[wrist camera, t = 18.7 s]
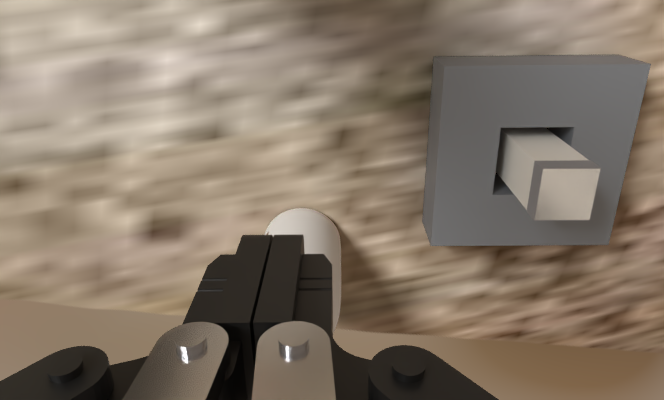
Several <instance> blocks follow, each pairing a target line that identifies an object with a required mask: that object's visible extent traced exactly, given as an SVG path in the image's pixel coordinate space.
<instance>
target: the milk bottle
mask: <svg viewBox="0 0 664 400" xmlns="http://www.w3.org/2000/svg"><path fill="white" fill-rule="evenodd" d="M300 234H303V236H304V252H305V254H324V255H325V256H326V257H327V259H328V260H329V261H330V263H331V264H332V286H333V332H334V331H335V328H336V326H337V323H338V319H339V314H340V307H341V242H340V235H339V232H338V230H337V228H336V226H335V225H334V223H333V222H332V221H331V220H330V219H329V218H328V217H327V216H325V215H324V214H322V213H320V212H318V211H315V210H313V209H307V208H296V209H291V210H287V211H285V212H283V213H281V214H279V215H278V216H277V217H275V218H274V219H273V220H272V221H271V223H270V224H269V226H268V227H267V230H266V232H265V235H273V236H274V235H300Z"/></svg>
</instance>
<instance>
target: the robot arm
mask: <svg viewBox="0 0 664 400" xmlns="http://www.w3.org/2000/svg"><path fill="white" fill-rule="evenodd" d="M0 400H498V399H497V398H495V397H494V396H493V395H491V394H490V393H488V392H487V391H486V390H484V389H483V388H481V387H480V386H478V385H477V384H476V383H474V382H473V381H471V380H470V379H468V378H467V377H466V376H464V375H463V374H461V373H460V372H459V371H457V370H456V369H454V368H453V367H451V366H450V365H448V364H447V363H446V362H444V361H443V360H442V359H440V358H439V357H437V356H436V355H434V354H433V353H431V352H430V351H427V350H425V349H422V348H419V347H415V346H407V345H401V346H393V347H389V348H386V349H384V350H382V351H380V352H379V353H378V354H376V355H375V356H374V357H373V359H372V360H368V359H364V358H360V357H356V356H354V355H351V354H349V353H347V352H346V351H344V350H343V349H342V348H340V347H339V346H338V345H337V344H336V342H335V341H334V339H333V286H332V264H331V263H330V261H329V260H328V259H327V257H326V256H325V255H324V254H305V252H304V236H303V234H300V235H274V236H273V235H243V236H242V238H241V241H240V243H239V246H238V249H237V252H236V255H220V256H219V257H218V258H217V259H215V260H214V261H213V262H212V263H211V264H209V265H208V267H207V269H206V271H205V274H204V276H203V278H202V281H201V283H200V285H199V287H198V292H196V294H195V297H194V299H193V301H192V304H191V306H190V308H189V310H188V313H187V315H186V317H185V320H184V322H183V324H182V325H180V326H178V327H175V328H173V329H171V330H169V331H168V332H166V333H165V334H164V335H162V336H161V337H160V338H159V340H158V341H157V343H156V344H155V346H154V348H153V349H152V351H151V353H150V354H149V356H146V357H143V358H140V359H136V360H132V361H128V362H123V363H119V364H114V365H109V361H108V357H107V355H106V354H105V353H104V352H103V351H102V350H100V349H98V348H95V347H90V346H77V347H71V348H67V349H63V350H60V351H58V352H55V353H53V354H51V355H49V356H47V357H45V358H43V359H41V360H39V361H37V362H36V363H34V364H32V365H30V366H28V367H27V368H24V369H22V370H21V371H19V372H17V373H15V374H13V375H11V376H9V377H7V378H6V379H4V380H2V381H0Z"/></svg>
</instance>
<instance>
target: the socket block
mask: <svg viewBox="0 0 664 400" xmlns="http://www.w3.org/2000/svg"><path fill="white" fill-rule="evenodd" d="M650 65H651V64H649V63H645V62H642V61H639V60H635V59H632V58H628V57H625V56H621V55H538V56H438V57H433V71H432V86H431V101H430V116H429V131H428V146H427V161H426V176H425V191H424V206H423V221H422V222H423V225H424V228H425V230H426V233H427V236H428V239H429V242H430V245H431V246H516V245H608V244H609V240H610V236H611V232H612V227H613V223H614V219H615V215H616V210H617V206H618V202H619V198H620V193H621V189H622V185H623V180H624V176H625V172H626V168H627V163H628V159H629V155H630V151H631V146H632V142H633V138H634V134H635V129H636V125H637V121H638V117H639V112H640V108H641V104H642V99H643V95H644V91H645V87H646V82H647V78H648V74H649V70H650ZM525 127H549V129H548V130H549V131H550V132H552V133H553V134H554V135H556V136H557V137H558V138H560V139H561V140H563V141H564V142H565V143H567V144H568V145H569V146H571V147H572V148H573V149H575V150H576V151H577V152H579V153H580V154H581V155H583V156H584V157H585V158H587V159H588V160H591V161H592V162H594V163H595V164H597V165H598V166H599V167H601V172H600V176H599V181H598V186H597V190H596V195H595V199H594V204H593V209H592V213H591V218H590V221H534V220H533V219H532V218H531V216H530V215H529V214H528V213H527V210H526V209H525V207H524V206H523V205H522V204H521V202H520V201H519V200H518V199H517V197H516V196H515V195H514V194H513V192H512V191H511V190H510V189H509V187H508V186H507V185H506V184H505V182H504V181H503V180H502V179H501V177H500V176H499V175H498V174H495V171H496V163H497V155H498V147H499V139H500V131H501V128H525Z"/></svg>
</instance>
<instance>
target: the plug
mask: <svg viewBox="0 0 664 400" xmlns="http://www.w3.org/2000/svg"><path fill="white" fill-rule="evenodd" d="M496 172H497V174H498V175H499V176H500V177H501V179H502V180H503V181H504V182H505V184H506V185H507V186H508V187H509V189H510V190H511V191H512V192H513V194H514V195H515V196H516V197H517V199H518V200H519V201H520V202H521V204H522V205H523V206H524V207H525V209H526V210H527V213H528V214H529V215H530V216H531V218H532V219H533V220H534V221H590V218H591V213H592V209H593V204H594V199H595V195H596V190H597V186H598V181H599V176H600V172H601V167H599V166H598V165H597V164H595V163H594V162H592V161H591V160H588V159H587V158H585V157H584V156H583V155H581V154H580V153H579V152H577V151H576V150H575V149H573V148H572V147H571V146H569V145H568V144H567V143H565V142H564V141H563V140H561V139H560V138H558V137H557V136H556V135H554V134H553V133H552V132H550V131H549V130H548V129H546V128H545V127H525V128H501V131H500V139H499V147H498V155H497V163H496Z"/></svg>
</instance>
